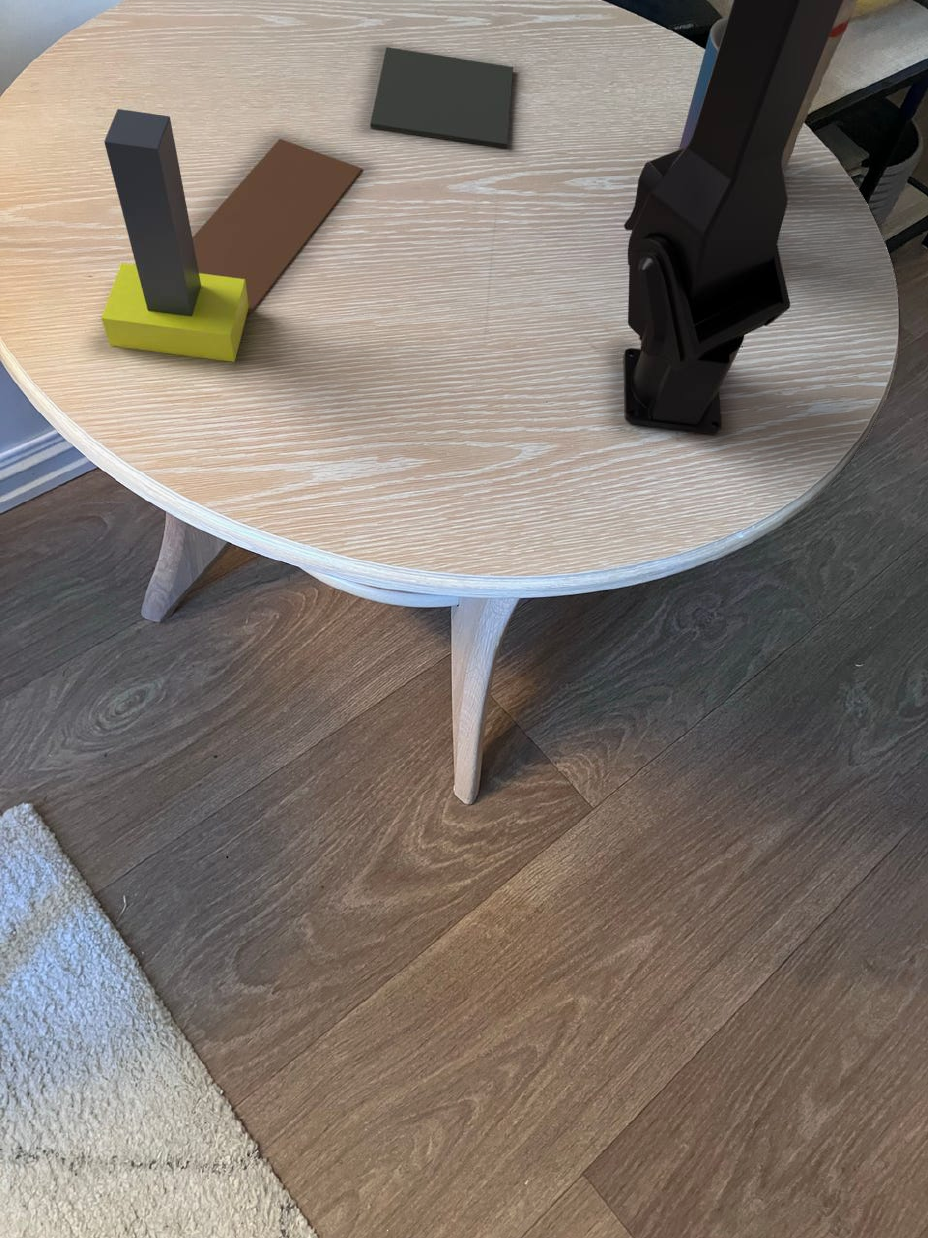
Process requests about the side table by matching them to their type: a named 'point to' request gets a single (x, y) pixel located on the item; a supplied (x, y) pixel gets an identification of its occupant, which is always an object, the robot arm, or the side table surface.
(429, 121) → the mat
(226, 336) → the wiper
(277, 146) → the brown rectangular board
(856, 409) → the side table surface
